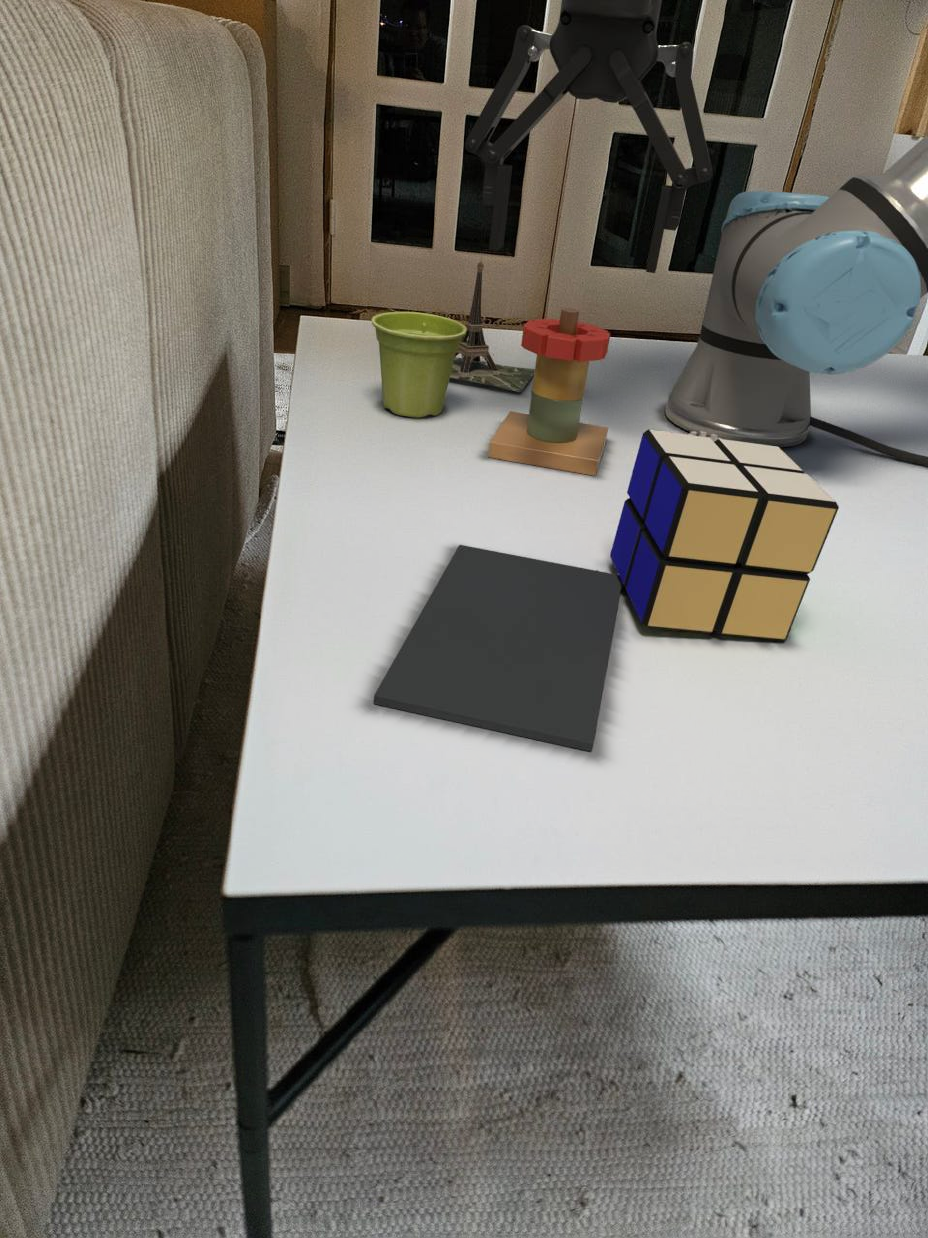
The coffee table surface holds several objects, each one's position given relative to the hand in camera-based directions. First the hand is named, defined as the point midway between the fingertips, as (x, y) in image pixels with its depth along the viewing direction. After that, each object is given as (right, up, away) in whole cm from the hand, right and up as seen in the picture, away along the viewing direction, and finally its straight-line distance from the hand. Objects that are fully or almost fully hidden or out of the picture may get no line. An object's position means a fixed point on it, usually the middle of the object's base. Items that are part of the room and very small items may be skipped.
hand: (572, 259), depth 79 cm
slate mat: (-6, -32, -22) cm, 39 cm away
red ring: (0, -7, +4) cm, 8 cm away
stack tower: (-1, -15, +9) cm, 17 cm away
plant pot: (-15, -10, +15) cm, 23 cm away
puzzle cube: (+6, -30, -16) cm, 34 cm away
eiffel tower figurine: (-9, -2, +28) cm, 30 cm away
